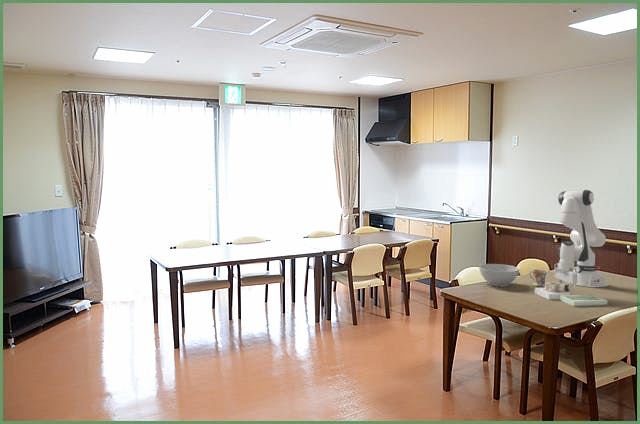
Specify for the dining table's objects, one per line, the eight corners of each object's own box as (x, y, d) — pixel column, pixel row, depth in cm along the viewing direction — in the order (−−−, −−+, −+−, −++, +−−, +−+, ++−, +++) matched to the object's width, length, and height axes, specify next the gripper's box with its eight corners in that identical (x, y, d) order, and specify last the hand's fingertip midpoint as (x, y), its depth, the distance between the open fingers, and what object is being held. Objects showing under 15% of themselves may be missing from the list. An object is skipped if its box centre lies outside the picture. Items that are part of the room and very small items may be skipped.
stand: (555, 292, 341) (555, 287, 341) (570, 298, 325) (570, 293, 325) (534, 293, 339) (534, 287, 339) (548, 299, 323) (548, 294, 323)
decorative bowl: (470, 281, 370) (471, 265, 368) (500, 279, 379) (501, 262, 378) (495, 290, 345) (496, 272, 344) (527, 287, 354) (528, 270, 353)
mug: (548, 286, 358) (549, 271, 357) (542, 288, 352) (543, 273, 351) (531, 283, 367) (532, 268, 366) (525, 285, 361) (526, 270, 360)
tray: (591, 299, 325) (592, 294, 325) (607, 305, 312) (607, 300, 311) (559, 300, 322) (560, 295, 322) (573, 306, 308) (574, 301, 308)
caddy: (565, 294, 337) (566, 282, 336) (571, 296, 331) (571, 284, 330) (544, 295, 335) (544, 283, 334) (549, 297, 329) (550, 285, 328)
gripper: (581, 270, 322) (579, 291, 323) (561, 263, 342) (560, 284, 344) (571, 270, 321) (570, 292, 323) (552, 263, 341) (551, 284, 343)
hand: (565, 288), depth 333 cm, fingers open, 8 cm apart
